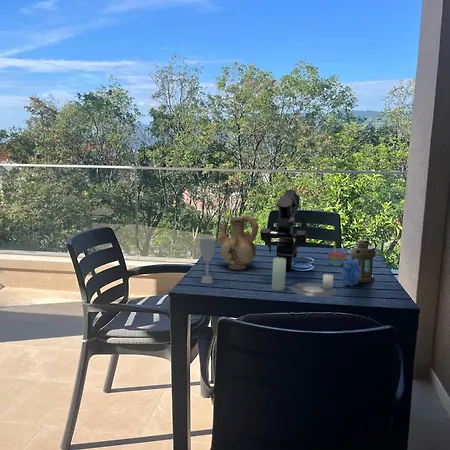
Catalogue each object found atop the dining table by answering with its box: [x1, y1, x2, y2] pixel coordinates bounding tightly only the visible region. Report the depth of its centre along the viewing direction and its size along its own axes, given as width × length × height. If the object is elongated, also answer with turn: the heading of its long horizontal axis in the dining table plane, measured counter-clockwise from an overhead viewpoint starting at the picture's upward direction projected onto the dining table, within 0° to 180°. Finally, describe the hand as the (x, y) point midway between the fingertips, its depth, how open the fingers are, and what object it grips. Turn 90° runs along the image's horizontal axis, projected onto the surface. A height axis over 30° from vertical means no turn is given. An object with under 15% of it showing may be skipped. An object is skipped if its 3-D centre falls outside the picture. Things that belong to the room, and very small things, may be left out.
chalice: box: [198, 236, 217, 284], centre depth 188 cm, size 7×7×18 cm
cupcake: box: [327, 240, 347, 267], centre depth 220 cm, size 9×8×12 cm
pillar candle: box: [271, 256, 287, 292], centre depth 177 cm, size 5×5×14 cm
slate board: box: [289, 282, 338, 298], centre depth 178 cm, size 18×18×1 cm
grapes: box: [340, 258, 362, 287], centre depth 184 cm, size 12×7×12 cm, turn 128°
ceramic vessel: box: [215, 215, 259, 271], centre depth 210 cm, size 18×19×25 cm
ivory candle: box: [322, 273, 334, 289], centre depth 180 cm, size 4×4×6 cm
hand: (281, 253), depth 184 cm, fingers open, 9 cm apart
